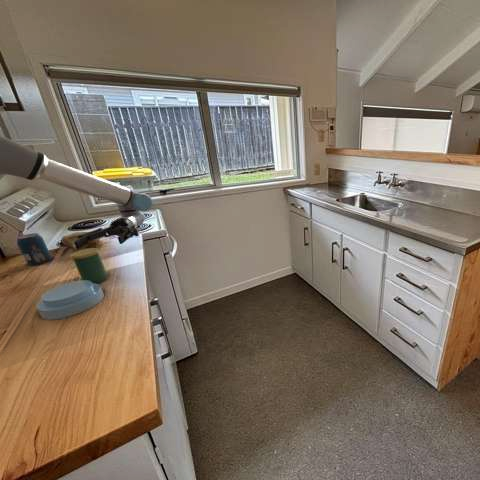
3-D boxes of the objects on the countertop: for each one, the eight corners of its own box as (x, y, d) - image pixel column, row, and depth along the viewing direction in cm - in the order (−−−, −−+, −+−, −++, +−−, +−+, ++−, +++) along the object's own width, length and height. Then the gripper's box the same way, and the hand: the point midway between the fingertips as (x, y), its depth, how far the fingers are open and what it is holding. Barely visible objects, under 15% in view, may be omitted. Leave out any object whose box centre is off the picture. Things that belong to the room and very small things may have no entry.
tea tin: (82, 288, 85) (69, 258, 81) (84, 279, 90) (72, 251, 86) (107, 281, 88) (96, 252, 84) (109, 274, 93) (98, 246, 89)
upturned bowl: (34, 326, 67) (26, 311, 65) (47, 301, 78) (40, 287, 76) (102, 306, 74) (96, 292, 73) (105, 286, 85) (100, 273, 83)
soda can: (42, 259, 107) (29, 232, 103) (57, 259, 107) (45, 232, 102) (23, 267, 101) (9, 239, 97) (40, 267, 100) (26, 238, 96)
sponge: (107, 249, 119) (97, 232, 130) (97, 236, 114) (89, 219, 125) (71, 263, 111) (65, 243, 123) (60, 249, 106) (54, 230, 118)
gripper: (157, 230, 117) (139, 247, 98) (93, 237, 111) (61, 256, 92) (152, 214, 114) (134, 229, 95) (87, 220, 109) (53, 237, 89)
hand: (98, 242), depth 94 cm, fingers open, 13 cm apart
